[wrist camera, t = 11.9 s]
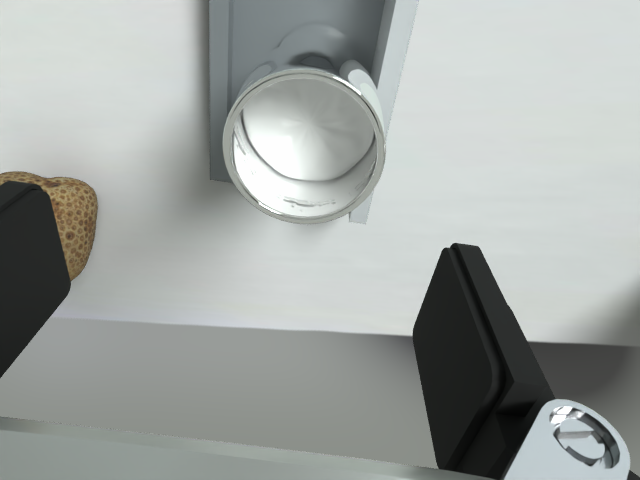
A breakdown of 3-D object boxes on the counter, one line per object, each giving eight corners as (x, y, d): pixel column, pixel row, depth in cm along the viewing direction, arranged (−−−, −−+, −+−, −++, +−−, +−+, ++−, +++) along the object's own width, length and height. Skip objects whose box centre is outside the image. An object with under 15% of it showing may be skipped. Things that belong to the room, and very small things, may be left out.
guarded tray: (419, -81, 25) (440, -90, 20) (361, 186, 35) (365, 224, 30) (219, -117, 25) (189, -135, 20) (217, 166, 35) (197, 201, 30)
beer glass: (307, 138, 32) (289, 253, 20) (246, 59, 29) (179, 135, 17) (386, 83, 30) (423, 174, 17) (329, -10, 27) (323, 18, 14)
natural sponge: (9, 216, 38) (-83, 288, 30) (17, 130, 33) (-89, 186, 25) (110, 254, 40) (51, 331, 32) (130, 177, 35) (68, 244, 27)
